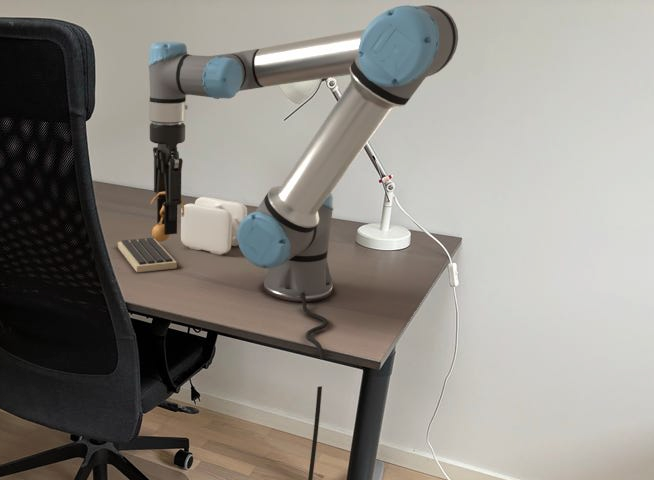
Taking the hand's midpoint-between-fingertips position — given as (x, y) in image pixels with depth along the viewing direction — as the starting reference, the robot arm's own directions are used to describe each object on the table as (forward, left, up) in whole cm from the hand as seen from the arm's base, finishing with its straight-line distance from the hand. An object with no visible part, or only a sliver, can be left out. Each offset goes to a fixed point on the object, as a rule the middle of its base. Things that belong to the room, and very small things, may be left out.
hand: (166, 229), depth 166 cm
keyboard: (+17, 0, -12) cm, 21 cm away
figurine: (+2, +1, -3) cm, 3 cm away
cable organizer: (+21, -19, -13) cm, 31 cm away
